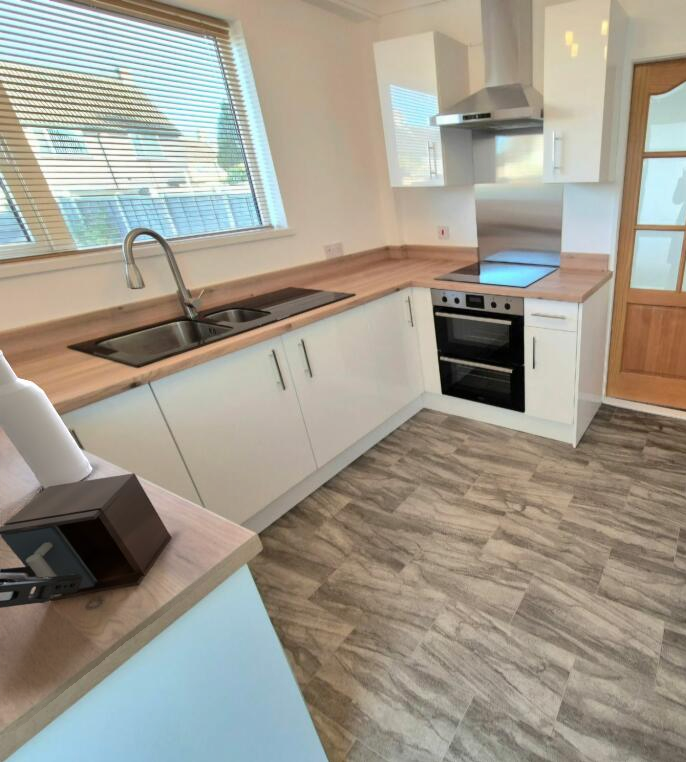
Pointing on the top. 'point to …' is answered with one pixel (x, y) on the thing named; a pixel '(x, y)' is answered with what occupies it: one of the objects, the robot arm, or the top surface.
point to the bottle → (38, 431)
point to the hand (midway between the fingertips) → (55, 578)
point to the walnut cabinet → (100, 528)
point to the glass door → (46, 554)
